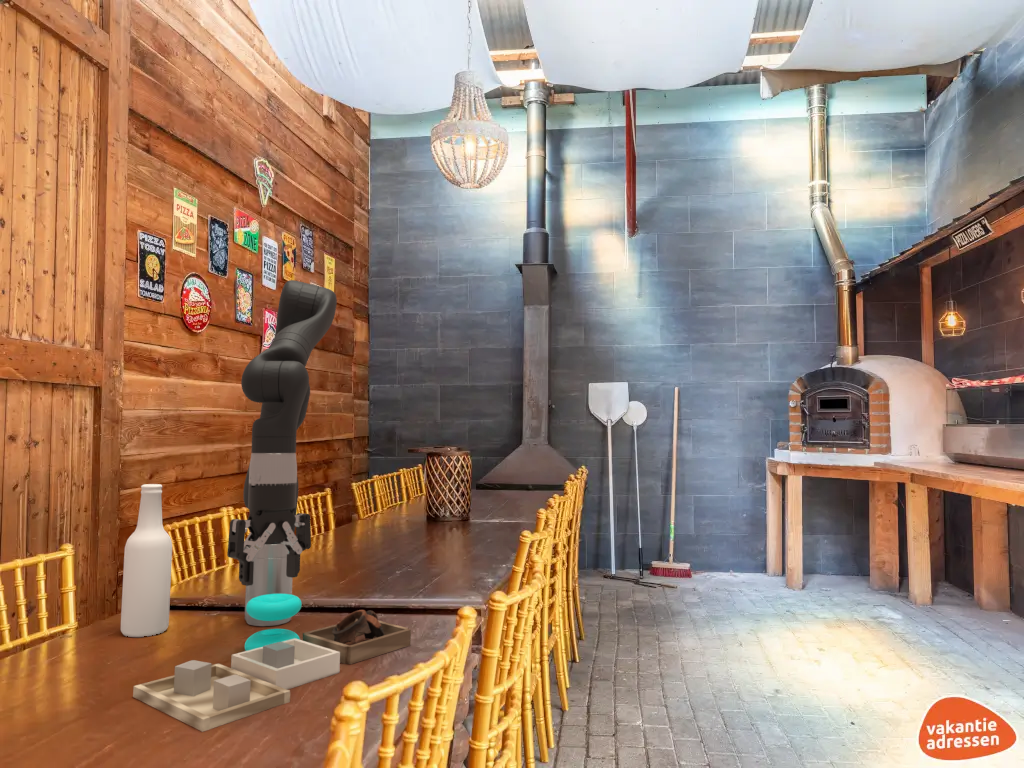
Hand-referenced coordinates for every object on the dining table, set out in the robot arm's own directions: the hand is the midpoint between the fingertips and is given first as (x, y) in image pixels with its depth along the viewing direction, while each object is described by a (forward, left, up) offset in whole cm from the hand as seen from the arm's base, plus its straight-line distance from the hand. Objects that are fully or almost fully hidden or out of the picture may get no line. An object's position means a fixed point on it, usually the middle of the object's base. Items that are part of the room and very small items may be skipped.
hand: (270, 580), depth 116 cm
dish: (-2, +5, -17) cm, 18 cm away
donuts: (-16, +12, -18) cm, 27 cm away
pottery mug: (-5, +25, -18) cm, 31 cm away
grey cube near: (+4, -9, -17) cm, 19 cm away
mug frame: (-6, +24, -17) cm, 30 cm away
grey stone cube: (-7, -9, -17) cm, 20 cm away
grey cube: (-4, +5, -16) cm, 18 cm away
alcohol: (-47, +3, -17) cm, 50 cm away
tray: (-1, -9, -17) cm, 19 cm away
